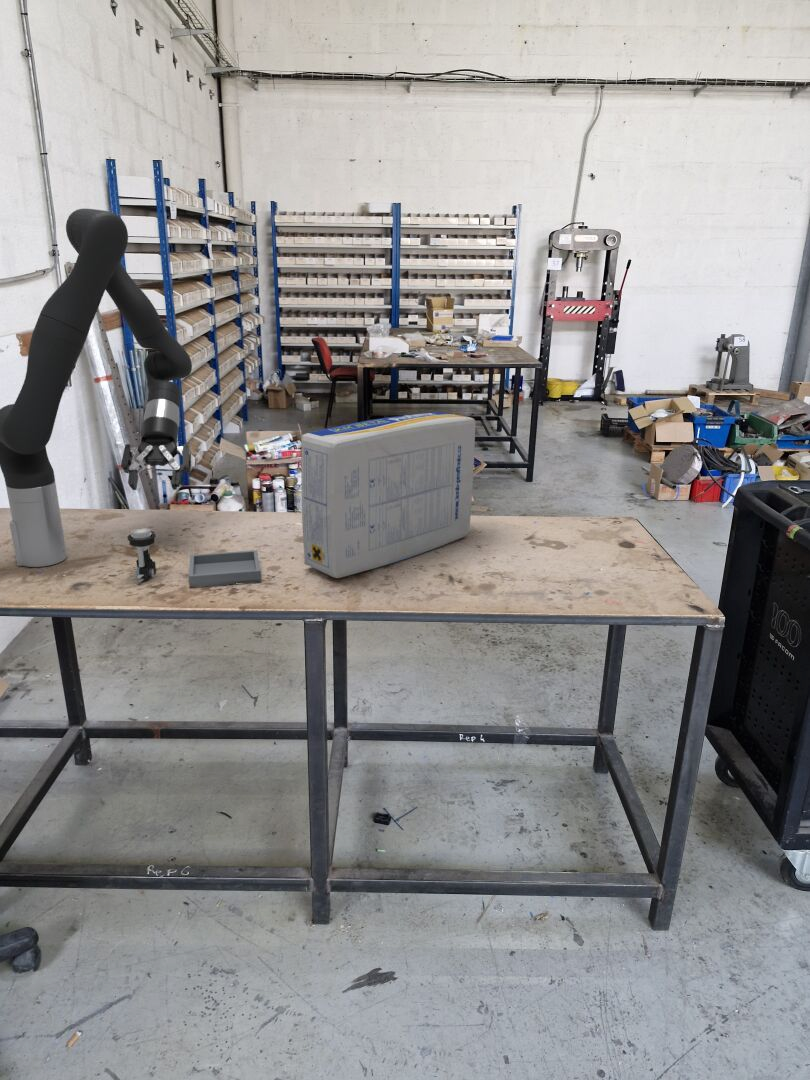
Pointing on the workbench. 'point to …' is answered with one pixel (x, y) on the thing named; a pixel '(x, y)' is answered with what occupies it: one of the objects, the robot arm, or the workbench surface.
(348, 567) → the construction material bag
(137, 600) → the workbench surface
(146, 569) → the push button
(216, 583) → the tray
